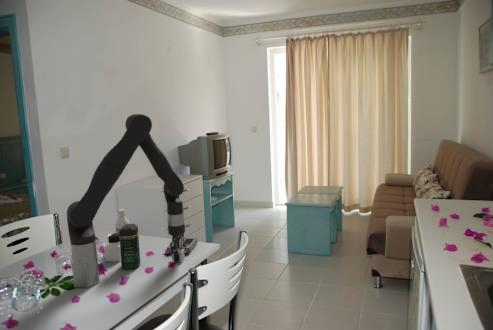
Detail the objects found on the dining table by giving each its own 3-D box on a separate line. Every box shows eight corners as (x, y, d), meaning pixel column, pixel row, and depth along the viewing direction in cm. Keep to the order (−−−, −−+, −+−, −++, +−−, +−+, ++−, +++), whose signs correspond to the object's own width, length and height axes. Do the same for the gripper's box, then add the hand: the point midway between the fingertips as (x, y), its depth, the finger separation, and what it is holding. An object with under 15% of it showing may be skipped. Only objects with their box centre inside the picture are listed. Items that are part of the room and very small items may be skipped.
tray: (189, 254, 188) (189, 248, 188) (166, 254, 190) (166, 248, 189) (197, 243, 203) (196, 237, 203) (176, 243, 204) (175, 237, 204)
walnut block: (183, 251, 191) (183, 242, 190) (174, 251, 191) (174, 242, 191) (186, 248, 195) (185, 239, 195) (177, 248, 196) (177, 239, 195)
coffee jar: (138, 269, 173) (135, 227, 170) (120, 270, 172) (116, 229, 169) (142, 261, 182) (139, 221, 180) (124, 262, 181) (121, 222, 179)
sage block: (182, 262, 179) (181, 252, 178) (172, 262, 179) (171, 252, 179) (184, 258, 183) (184, 249, 183) (175, 258, 184) (174, 249, 183)
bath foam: (123, 245, 205) (120, 207, 202) (134, 246, 202) (131, 208, 200) (114, 250, 198) (111, 211, 196) (126, 251, 196) (122, 211, 193)
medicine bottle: (126, 256, 189) (124, 231, 188) (120, 261, 182) (118, 236, 181) (112, 256, 190) (109, 231, 188) (105, 261, 183) (103, 236, 181)
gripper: (179, 227, 171) (182, 265, 174) (188, 218, 185) (190, 253, 188) (162, 227, 172) (165, 265, 175) (172, 218, 186) (175, 253, 189)
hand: (178, 259), depth 181 cm, fingers closed on sage block, 4 cm apart
